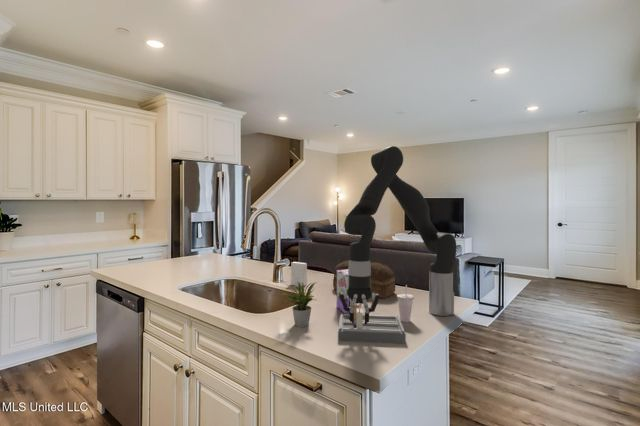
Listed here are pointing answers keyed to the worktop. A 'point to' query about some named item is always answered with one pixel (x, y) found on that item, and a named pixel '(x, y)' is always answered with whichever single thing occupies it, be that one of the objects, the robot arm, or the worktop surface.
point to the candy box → (343, 289)
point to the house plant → (301, 304)
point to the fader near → (359, 318)
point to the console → (372, 329)
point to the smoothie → (405, 305)
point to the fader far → (355, 310)
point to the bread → (374, 278)
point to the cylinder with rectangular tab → (298, 273)
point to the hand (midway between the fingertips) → (359, 322)
